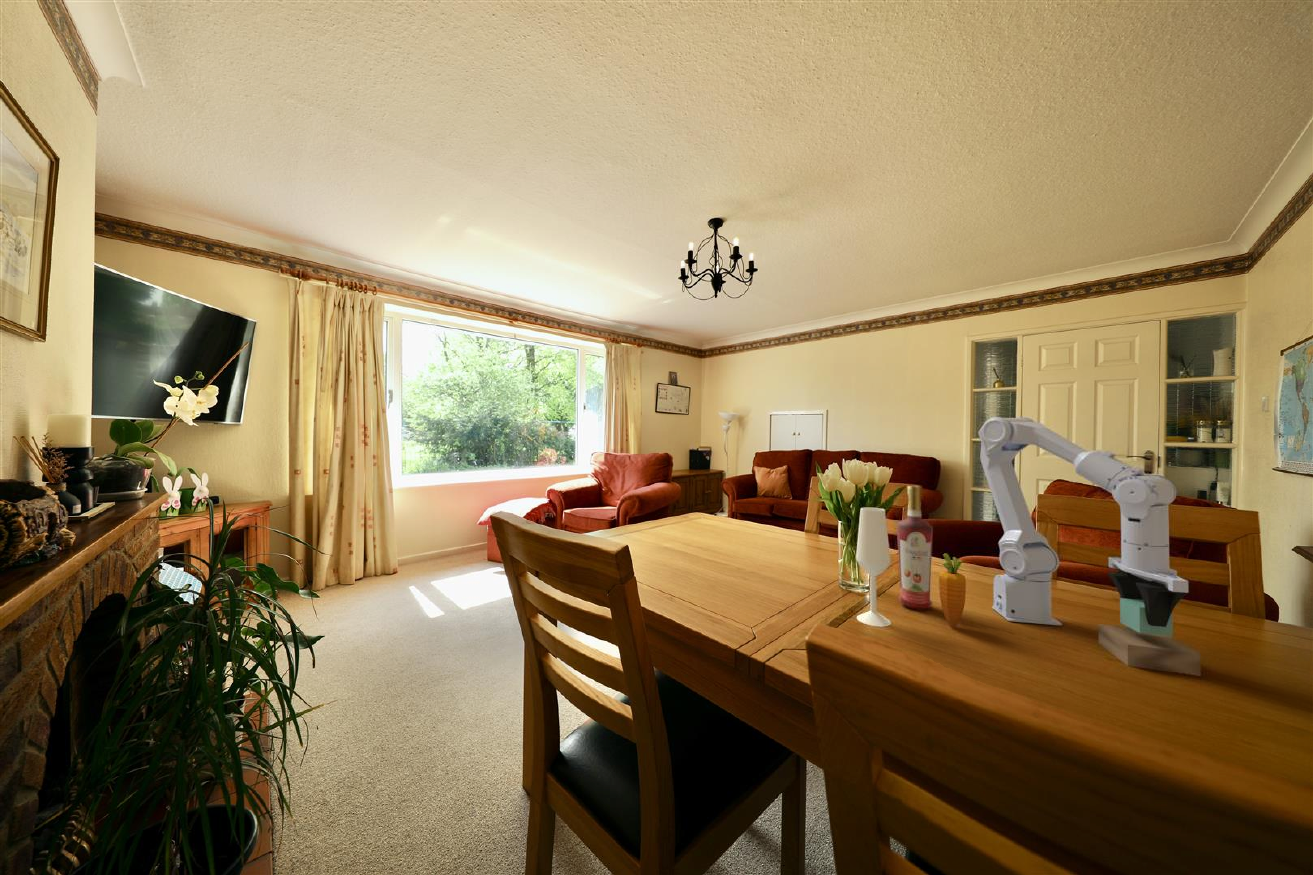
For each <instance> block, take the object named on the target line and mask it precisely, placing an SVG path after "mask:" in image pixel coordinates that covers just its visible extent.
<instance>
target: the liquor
mask: <svg viewBox="0 0 1313 875" xmlns="http://www.w3.org/2000/svg"><path fill="white" fill-rule="evenodd" d="M921 489H922V487H921V486H919V485H907V497H908V503H907V504H908V505H907V512H906V513H907V516H906V518H905V519H903V520H900V521H899V522H897V523H896V535H897V537H896V538H897V539H896V540H897V553H898V565H899V566H898V567H899V585H900V587H899V588H900V591H899V592H900V593H899V596H898V598H897V599H898V600H899V601H900V602H901V603H902V604H903V605H904V606H905V607H906V608H909V609H912V610H916V611H924V610H927V609H928V608H929V607H931V606H932V605H933V601H932V600H931V577H932V576H931V574H932V573H931V571H932V570H931V569H932V556H933V535H934V534H933V533H934V531H933V529H934V527H933V525H932V524H930V523H929V522H927V521H926V520H925V521H924V520H923V519H922V509H921V495H922V493H921Z"/></svg>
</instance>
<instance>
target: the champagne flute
mask: <svg viewBox="0 0 1313 875" xmlns="http://www.w3.org/2000/svg"><path fill="white" fill-rule="evenodd" d="M859 511H860V512H859V521H858V522H859V523H858V532H857V542H856V544H857V545H856V552H855V553H856V556H855V560H856V562H857V564H858V565H859V567H861V569H863V571H864V572H865V573H867V574H868V575H869V578H870V580H869V581H870V582H869V583H870V584H869V588H870V590H869V591H870V592H869V594H870V595H869V596H870V598H869V599H870V600H869V601H870V610H869V611H867V612H863V613H861V614H859V615H857V616H856V619H857V621H859V622H860V623H862V624H864V625H868V626H872V627H882V628H883V627H888V626H890V625H891V624H892V622H891V620H890V619H888V618H886V616H884V615H883V614H881V613H879V612H878V611H877V576H879V575H881V574H882V573H883V572H884V571H886V570H887V569H888V568H889V567H890V565H891V553H890V552H891V551H890V543H889V536H888V527H887V517H886V509H884V508H879V507H869V506H868V507H861V508H860V510H859Z"/></svg>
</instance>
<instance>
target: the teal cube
mask: <svg viewBox="0 0 1313 875" xmlns="http://www.w3.org/2000/svg"><path fill="white" fill-rule="evenodd" d="M1119 619H1120V623H1121V624H1122V625H1124V626H1125V627H1129V628H1131V629H1133V630H1135V631H1137V632H1139V633H1145V634H1157V635H1168V636H1171V637H1173V634H1174V632H1173V631H1174V630H1173V626H1174V625H1173V612H1172V613H1171V615H1170V618H1169V621H1168V623H1167V626H1166V627H1160V626H1151V625H1149V624H1148V622H1147V618H1146V613H1145V605H1144V601H1143V600H1139V599H1126V598H1121V597H1120V598H1119Z"/></svg>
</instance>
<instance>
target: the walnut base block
mask: <svg viewBox="0 0 1313 875" xmlns="http://www.w3.org/2000/svg"><path fill="white" fill-rule="evenodd" d="M1098 644H1099V645H1100V646H1102V647H1103V648H1104V649H1105V650H1107V651H1108V652H1109V653H1110V654H1112V655H1113V656H1114V657H1116V658H1117V659H1119V661H1121V662H1122V663H1124V664H1125V665H1126V666H1128V667H1133V668H1134V667H1135V668H1140V669H1148V670H1156V671H1163V672H1170V673H1175V672H1179V673H1178V674H1182V673H1185V675H1189V674H1190V675H1191V676H1199V677H1201V674H1202V673H1201V664H1202V663H1201V653H1200V652H1199V651H1197V650H1195V649H1194V648H1191V647H1190V646H1188V645H1186V644H1184V643H1183V642H1181V641H1180V640H1178V639H1177V638H1175V637H1173V636H1168V635H1157V634H1145V633H1139V632H1137V631H1135V630H1133V629H1131V628H1129V627H1128V626H1120V625H1112V624H1111V625H1110V624H1103V623H1102V624H1101V623H1100V624H1099V623H1098Z"/></svg>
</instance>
